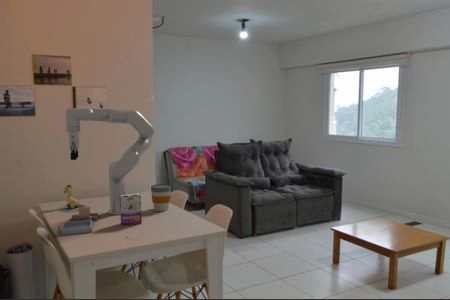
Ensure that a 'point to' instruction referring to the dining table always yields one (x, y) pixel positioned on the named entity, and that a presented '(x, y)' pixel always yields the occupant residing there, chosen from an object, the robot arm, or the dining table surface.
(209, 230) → the dining table surface
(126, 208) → the candy bar box
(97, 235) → the dining table surface
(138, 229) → the dining table surface
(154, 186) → the reusable coffee cup
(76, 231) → the tray
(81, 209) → the tan rectangular block
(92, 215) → the brown piece
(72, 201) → the stuffed giraffe
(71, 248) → the dining table surface
